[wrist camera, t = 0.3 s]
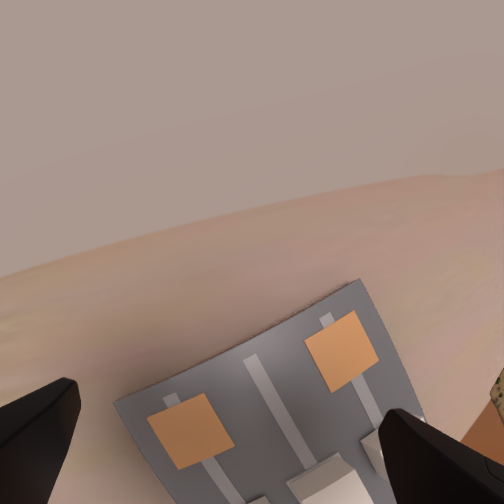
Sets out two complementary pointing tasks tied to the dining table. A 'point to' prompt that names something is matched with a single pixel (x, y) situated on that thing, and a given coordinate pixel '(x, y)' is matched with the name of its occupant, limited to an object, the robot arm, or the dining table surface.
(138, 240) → the dining table surface
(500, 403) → the speckled tan slab
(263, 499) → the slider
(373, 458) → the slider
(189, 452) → the switch panel
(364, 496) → the slider middle
